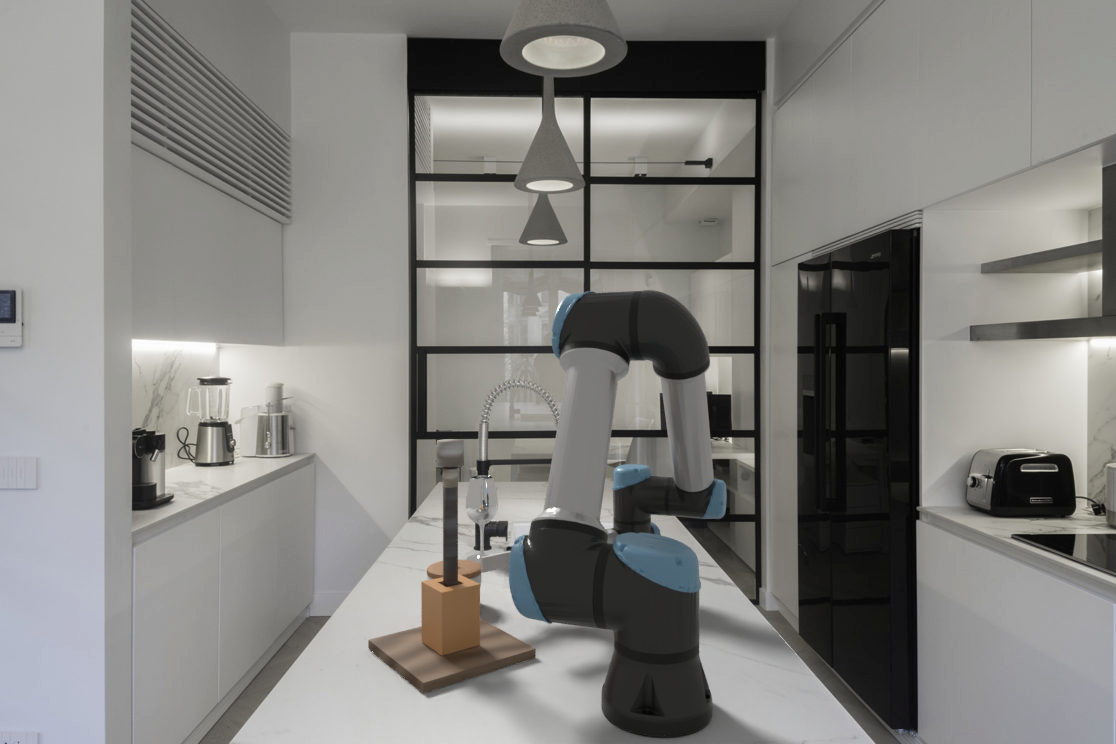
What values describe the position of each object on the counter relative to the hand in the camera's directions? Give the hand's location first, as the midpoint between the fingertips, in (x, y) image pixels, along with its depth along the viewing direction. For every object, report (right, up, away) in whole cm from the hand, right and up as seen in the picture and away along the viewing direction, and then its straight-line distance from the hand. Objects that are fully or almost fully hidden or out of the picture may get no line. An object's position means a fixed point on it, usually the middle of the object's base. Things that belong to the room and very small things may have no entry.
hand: (501, 574), depth 123 cm
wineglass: (-9, -11, +48) cm, 50 cm away
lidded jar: (-10, -11, +16) cm, 22 cm away
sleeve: (-8, -10, -6) cm, 14 cm away
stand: (-8, -11, -6) cm, 15 cm away
